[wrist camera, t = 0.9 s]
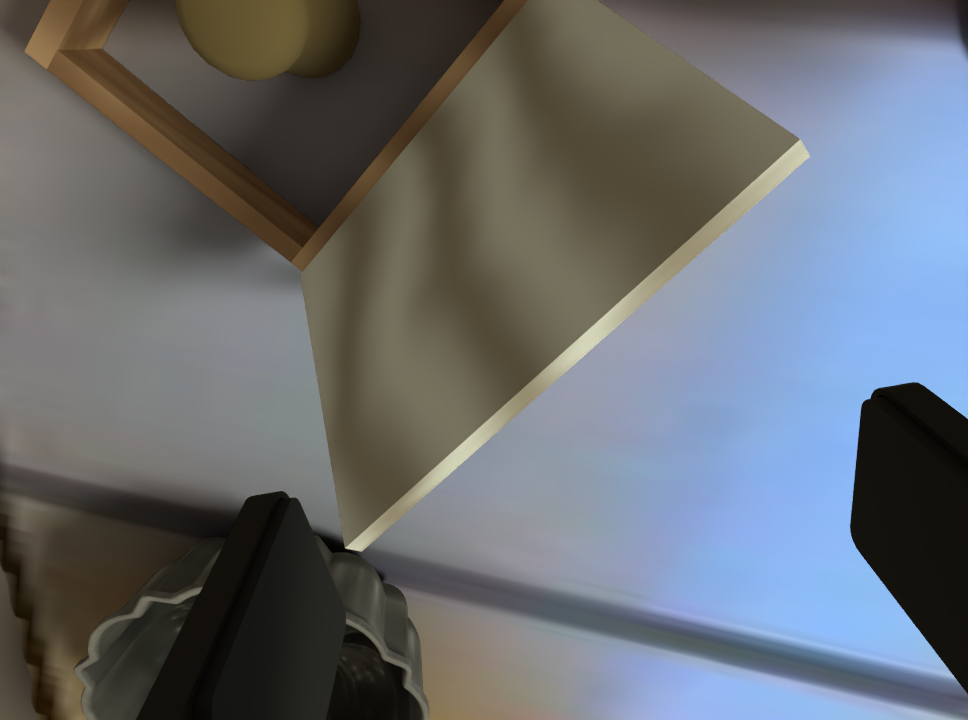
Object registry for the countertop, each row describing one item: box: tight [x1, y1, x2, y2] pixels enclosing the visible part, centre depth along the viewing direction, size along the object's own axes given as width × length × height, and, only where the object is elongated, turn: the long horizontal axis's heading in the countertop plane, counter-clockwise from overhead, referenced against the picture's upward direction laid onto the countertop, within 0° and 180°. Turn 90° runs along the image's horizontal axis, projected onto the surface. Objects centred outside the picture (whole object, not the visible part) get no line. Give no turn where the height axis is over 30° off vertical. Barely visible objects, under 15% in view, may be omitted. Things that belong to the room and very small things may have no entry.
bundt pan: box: [74, 535, 429, 720], centre depth 51 cm, size 26×26×10 cm
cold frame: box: [24, 0, 810, 552], centre depth 26 cm, size 20×25×21 cm
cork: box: [175, 0, 360, 81], centre depth 29 cm, size 6×6×11 cm
